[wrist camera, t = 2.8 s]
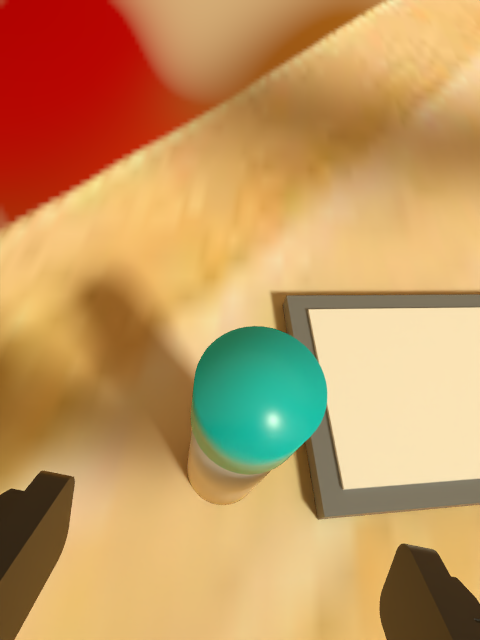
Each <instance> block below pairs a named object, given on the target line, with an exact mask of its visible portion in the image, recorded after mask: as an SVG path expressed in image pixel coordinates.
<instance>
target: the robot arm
mask: <svg viewBox="0 0 480 640" xmlns="http://www.w3.org/2000/svg"><path fill="white" fill-rule="evenodd" d="M74 484H75V480H74V477H72V476H67V475H62V474H57V473H52V472H47V471H41V472H40V473H39V474H38V475H37V476H36V477H35V479H34V480H33V481H32V482H31V483H30V485H29V486H28V487H27V488H26V490H25V491H21V490H16V489H10V490H8V491H6V492H4V493H3V494H1V495H0V640H14V639H15V637H16V636H17V634H18V632H19V630H20V628H21V627H22V625H23V623H24V621H25V619H26V617H27V616H28V614H29V612H30V610H31V608H32V607H33V605H34V603H35V601H36V599H37V598H38V596H39V594H40V592H41V590H42V588H43V587H44V585H45V583H46V581H47V579H48V578H49V576H50V574H51V572H52V570H53V568H54V567H55V565H56V563H57V561H58V559H59V557H60V555H61V553H62V550H63V547H64V545H65V541H66V538H67V534H68V529H69V521H70V514H71V507H72V499H73V492H74ZM380 618H381V623H382V626H383V629H384V632H385V636H386V639H387V640H480V604H479V602H478V600H477V599H476V598H475V597H474V596H473V594H472V593H471V592H470V591H469V590H468V589H467V588H466V587H465V586H464V585H463V584H462V583H461V582H460V581H459V580H458V579H457V578H456V577H451V576H450V574H449V573H448V571H447V569H446V567H445V565H444V563H443V562H442V560H441V558H440V556H439V555H438V553H437V552H436V551H435V550H433V549H428V548H423V547H418V546H413V545H408V544H401V545H400V546H399V547H398V549H397V551H396V554H395V557H394V559H393V562H392V565H391V568H390V570H389V573H388V576H387V578H386V581H385V584H384V587H383V589H382V592H381V597H380Z"/></svg>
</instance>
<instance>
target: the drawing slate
mask: <svg viewBox="0 0 480 640" xmlns="http://www.w3.org/2000/svg"><path fill="white" fill-rule="evenodd" d="M283 310H284V316H285V322H286V329H287V334H289V335H291V336H292V337H294V338H296V339H297V340H298V341H300V342H301V343H302V344H303V345H305V346H306V347H307V348H308V349H309V350H310V352H311V353H312V354H313V355H314V357H315V358H316V359H317V361H318V363H319V365H320V366H321V368H322V371H323V373H324V376H325V380H326V384H327V406H326V410H325V414H324V417H323V419H322V421H321V423H320V425H319V426H318V428H317V429H316V431H315V432H314V433H313V434H312V435H311V437H310V438H309V439H307V440H306V441H305V444H306V450H307V456H308V462H309V468H310V474H311V480H312V486H313V493H314V499H315V505H316V511H317V517H318V519H328V518H338V517H349V516H360V515H371V514H382V513H393V512H404V511H414V510H425V509H436V508H447V507H458V506H469V505H480V295H311V296H286V298H285V301H284V303H283Z"/></svg>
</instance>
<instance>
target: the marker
mask: <svg viewBox="0 0 480 640" xmlns="http://www.w3.org/2000/svg"><path fill="white" fill-rule="evenodd" d="M326 406H327V384H326V380H325V376H324V373H323V371H322V368H321V366H320V365H319V363H318V361H317V359H316V358H315V357H314V355H313V354H312V353H311V352H310V350H309V349H308V348H307V347H306V346H305V345H303V344H302V343H301V342H300V341H298V340H297V339H296V338H294V337H292V336H291V335H289V334H287V333H284V332H282V331H279V330H276V329H273V328H268V327H258V326H253V327H244V328H239V329H236V330H233V331H230V332H228V333H226V334H224V335H222V336H221V337H219V338H218V339H216V340H215V341H214V342H213V343H212V344H211V345H210V346H209V347H208V348H207V349H206V351H205V352H204V354H203V355H202V357H201V359H200V361H199V363H198V366H197V369H196V373H195V379H194V387H193V396H192V406H191V426H192V432H191V440H190V448H189V455H188V463H187V472H188V478H189V481H190V484H191V485H192V487H193V489H194V490H195V492H196V493H197V494H198V495H199V496H200V497H201V498H203V499H204V500H206V501H208V502H210V503H213V504H218V505H228V504H232V503H235V502H238V501H240V500H241V499H243V498H244V497H245V496H246V495H247V494H248V493H249V492H250V491H251V490H252V489H253V488H254V487H255V486H256V485H257V484H258V483H259V482H260V481H261V480H262V479H263V478H264V477H265V476H266V475H267V474H268V473H269V472H270V471H271V470H272V469H274V468H276V467H278V466H279V465H281V464H282V463H283V462H285V461H286V460H287V459H288V458H289V457H290V456H291V455H292V454H293V453H294V452H295V451H296V450H297V449H298V448H299V447H300V446H301V445H302V444H303V443H304V442H305V441H306V440H307V439H309V438H310V437H311V435H312V434H313V433H314V432H315V431H316V429H317V428H318V426H319V425H320V423H321V421H322V419H323V417H324V414H325V410H326Z"/></svg>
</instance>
